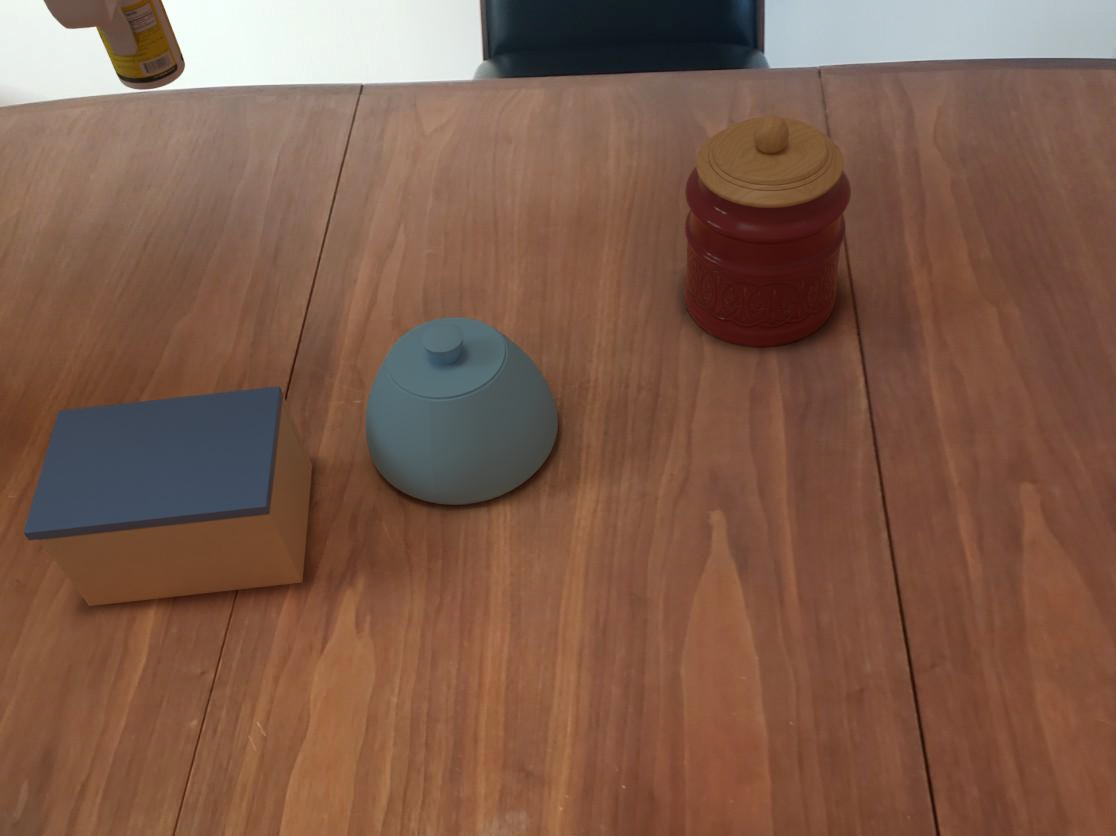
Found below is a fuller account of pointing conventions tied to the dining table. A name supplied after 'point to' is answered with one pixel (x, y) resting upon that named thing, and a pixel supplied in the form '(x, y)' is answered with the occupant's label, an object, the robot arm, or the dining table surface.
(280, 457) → the chest
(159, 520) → the chest lid
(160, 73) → the supplement bottle
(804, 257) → the kitchen canister
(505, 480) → the sugar bowl
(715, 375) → the dining table surface
